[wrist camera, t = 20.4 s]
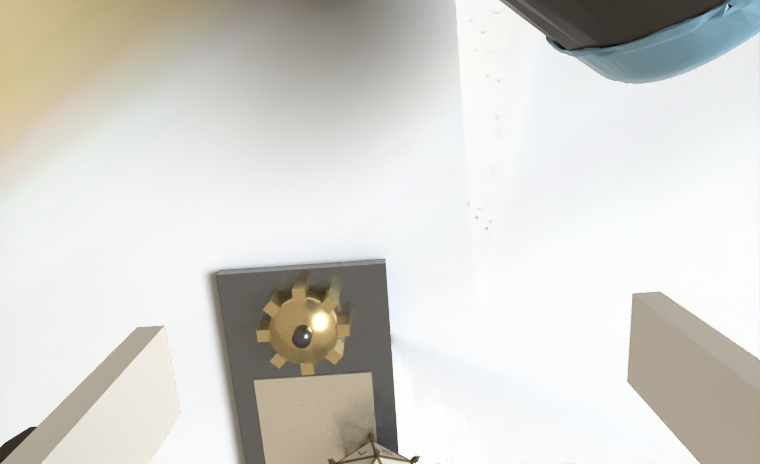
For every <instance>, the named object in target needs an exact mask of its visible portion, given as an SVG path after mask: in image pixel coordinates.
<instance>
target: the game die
mask: <svg viewBox="0 0 760 464" xmlns="http://www.w3.org/2000/svg"><path fill="white" fill-rule="evenodd" d="M368 436H369V439H370V441H369V442H368V443H366V444H365V445H363V446H362V447H360V448H358V449H357V450H355V451H354V452H352V453H351V454H349V455H348V456H346V457H344V458H343V459H341V460H340V461H338V462H335V460H333V458H332V459H327V460H328V462H329V464H413V463H416V462H418V459H419V457H420V456H414V457H412V459H411V460H408V459H407V458H405V457H403V456H401V455H399V454H397V453H395V452H393V451H392V450H390V449H388V448H386V447H384V446H382V445H380V444H378V443H377V442H375V441H373V439H374V434H373V433H372V432H371V433H370V434H369V435H368Z"/></svg>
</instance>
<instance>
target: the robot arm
mask: <svg viewBox="0 0 760 464" xmlns="http://www.w3.org/2000/svg"><path fill="white" fill-rule="evenodd" d="M500 1H501V2H503V3H504V4H505V5H507V6H508V7H509V8H511V9H512V10H513V11H515V12H516V13H517V14H518V15H520V16H521V17H522V18H524V19H525V20H526V21H528V22H529V23H530V24H532V25H533V26H534V27H536V28H537V29H538V30H539V31H541V32H542V33H543V34H545V35H546V39H547V41H548V42H549V43H550V44H551V45H552V46H553V47H554V48H555V49H556V50H558V51H560V52H562V53H565V54H568V55H570V56H574V57H576V58H577V59H579V60H580V61H581V62H583V63H584V64H586V65H587V66H589V67H590V68H592V69H593V70H594V71H596V72H597V73H599V74H600V75H602V76H604V77H605V78H608V79H610V80H614V81H621V82H624V83H633V84H642V83H650V82H656V81H661V80H665V79H668V78H672V77H675V76H678V75H681V74H683V73H686V72H689V71H691V70H693V69H696V68H698V67H700V66H702V65H704V64H706V63H708V62H710V61H712V60H714V59H716V58H718V57H720V56H722V55H724V54H725V53H727V52H729V51H731V50H732V49H734V48H736V47H737V46H739V45H740V44H742V43H743V42H745V41H747V40H748V39H750V38H751V37H753V36H754V35H756V34H757V33H759V32H760V0H500ZM627 382H628V383H629V384H630V385H631V386H632V387H633V388H634V390H635V391H636V392H637V393H638V394H639V395H640V396H641V397H642V399H643V400H644V401H645V402H646V403H647V404H648V405H649V406H650V408H651V409H652V410H653V411H654V412H655V413H656V414H657V415H658V417H659V418H660V419H661V420H662V421H663V422H664V423H665V424H666V426H667V427H668V428H669V429H670V430H671V431H672V432H673V433H674V435H675V436H676V437H677V438H678V439H679V440H680V441H681V442H682V444H683V445H684V446H685V447H686V448H687V449H688V450H689V451H690V452H691V454H692V455H693V456H694V457H695V458H696V459H697V460H698V461H699V463H700V464H760V360H759V359H758V358H756V357H755V356H753V355H752V354H750V353H749V352H747V351H746V350H744V349H743V348H742V347H740V346H739V345H737V344H736V343H734V342H733V341H731V340H730V339H728V338H727V337H725V336H724V335H723V334H721V333H720V332H718V331H717V330H715V329H714V328H712V327H711V326H709V325H708V324H707V323H705V322H704V321H702V320H701V319H699V318H698V317H696V316H695V315H693V314H692V313H690V312H689V311H688V310H686V309H685V308H683V307H682V306H680V305H679V304H677V303H676V302H674V301H673V300H671V299H670V298H669V297H667V296H666V295H664V294H663V293H661V292H649V293H635V294H633V298H632V314H631V330H630V346H629V363H628V379H627ZM180 412H181V411H180V406H179V401H178V396H177V390H176V385H175V380H174V374H173V369H172V364H171V358H170V353H169V348H168V342H167V337H166V332H165V326H153V327H138V328H136V329H135V330H134V331H133V332H132V333H131V334H130V335H129V336H128V337H127V338H126V339H125V340H124V341H123V342H122V343H121V344H120V345H119V346H118V347H117V348H116V349H115V350H114V351H113V352H112V353H111V354H110V355H109V356H108V357H107V358H106V359H105V360H104V361H103V362H102V363H101V364H100V365H99V366H98V367H97V368H96V369H95V370H94V371H93V372H92V373H91V374H90V375H89V376H88V377H87V378H86V379H85V380H84V381H83V382H82V383H81V384H80V385H79V386H78V387H77V388H76V389H75V390H74V391H73V392H72V393H71V394H70V395H69V396H68V397H67V398H66V399H65V400H64V401H63V402H62V403H61V404H60V405H59V406H58V407H57V408H56V409H55V410H54V411H53V412H52V413H51V414H50V415H49V416H48V417H47V418H46V419H45V420H44V421H43V422H42V423H41V424H40V425H39V426H38V427H30V428H28V429H27V430H25V431H23V432H22V433H20V434H19V435H17V436H15V437H14V438H12V439H11V440H9V441H7V442H6V443H4V444H3V445H2V446H1V447H0V464H150V462H151V460H152V459H153V457H154V455H155V454H156V452H157V450H158V449H159V447H160V445H161V444H162V442H163V440H164V439H165V437H166V435H167V434H168V432H169V430H170V429H171V427H172V425H173V424H174V422H175V420H176V419H177V417H178V415H179V414H180Z"/></svg>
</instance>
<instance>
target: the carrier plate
mask: <svg viewBox="0 0 760 464" xmlns="http://www.w3.org/2000/svg"><path fill="white" fill-rule="evenodd" d="M216 276H217V283H218V289H219V296H220V302H221V308H222V315H223V321H224V328H225V334H226V340H227V347H228V353H229V360H230V366H231V372H232V379H233V385H234V392H235V398H236V404H237V411H238V417H239V424H240V430H241V436H242V443H243V449H244V456H245V462H246V464H329V462H328V460H327V459H332V458H333V460H335V462H338V461H340V460H341V459H343V458H344V457H346V456H348V455H349V454H351V453H352V452H354V451H355V450H357V449H358V448H360V447H362V446H363V445H365V444H366V443H368V442H369V441H370V439H369V436H368V435H369V434H370V433H371V432H372V433H373V434H374V439H373V441H375V442H377V443H378V444H380V445H382V446H384V447H386V448H388V449H390V450H392V451H393V452H395V453H397V454H398V441H397V426H396V411H395V396H394V382H393V367H392V352H391V337H390V322H389V308H388V293H387V278H386V263H385V259H380V260H366V261H351V262H336V263H322V264H307V265H293V266H278V267H264V268H249V269H234V270H220V271H219V272H218V273H217V275H216Z"/></svg>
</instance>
